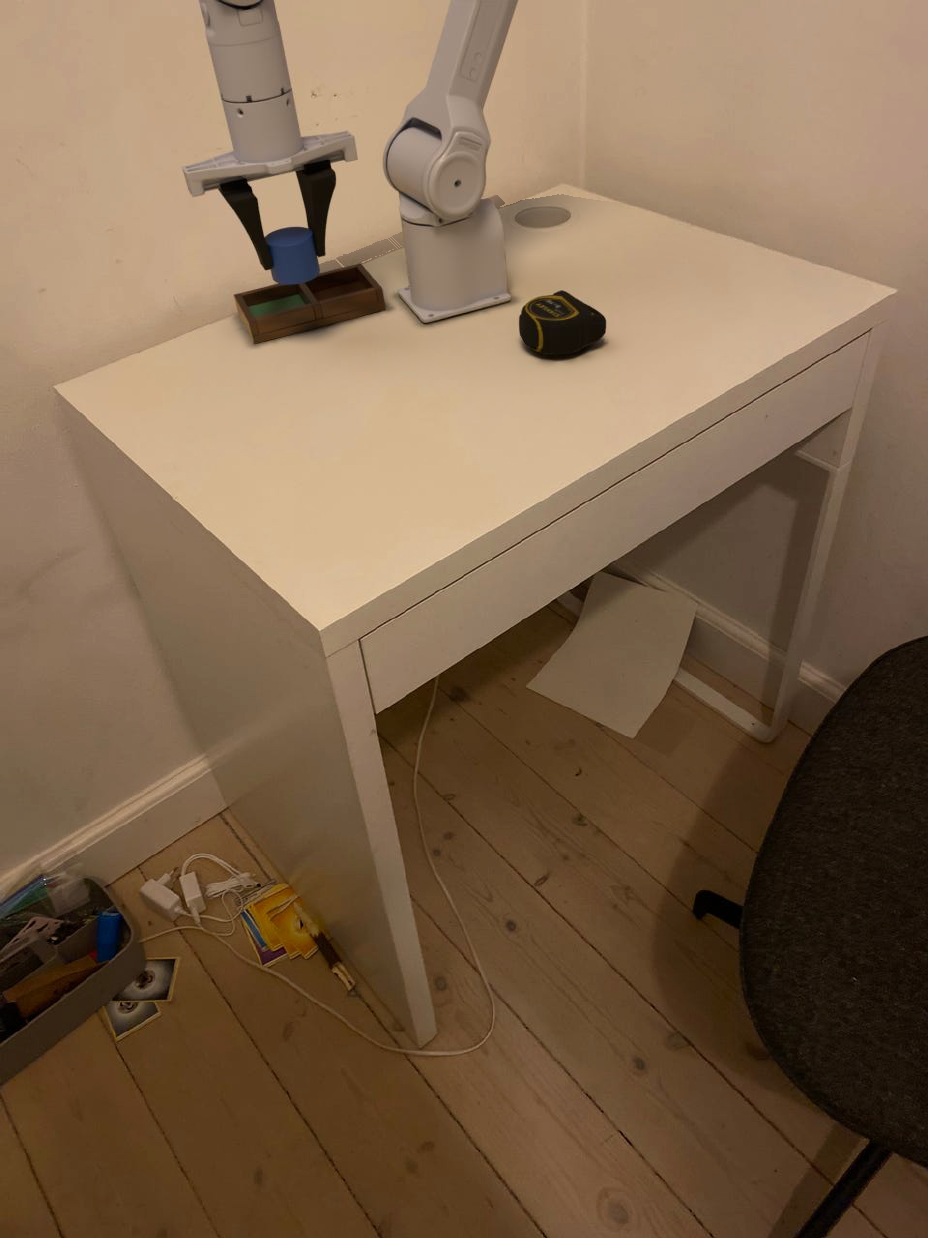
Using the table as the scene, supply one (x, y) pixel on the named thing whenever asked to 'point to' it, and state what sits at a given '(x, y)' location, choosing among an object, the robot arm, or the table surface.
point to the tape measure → (560, 324)
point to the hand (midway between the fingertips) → (292, 259)
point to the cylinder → (292, 255)
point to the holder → (309, 303)
